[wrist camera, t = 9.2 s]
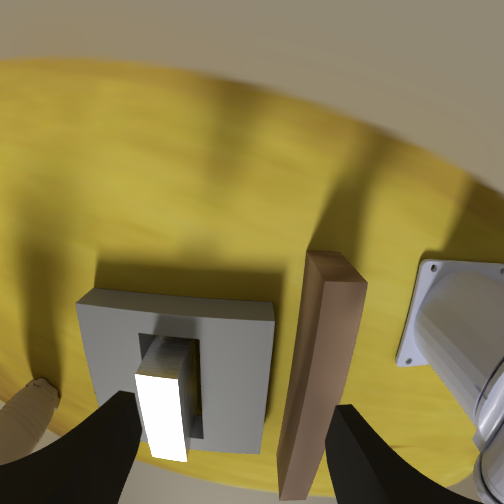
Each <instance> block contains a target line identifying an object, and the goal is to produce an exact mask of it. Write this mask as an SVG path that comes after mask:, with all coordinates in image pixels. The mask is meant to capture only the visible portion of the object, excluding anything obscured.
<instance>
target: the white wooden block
mask: <svg viewBox="0 0 504 504" xmlns="http://www.w3.org/2000/svg"><path fill="white" fill-rule="evenodd" d="M135 377H136V382H137V388H138V393H139V398H140V404H141V408H142V413H143V418H144V422H145V427H146V431H147V435H148V440H149V444H150V448H151V452H152V456H153V457H159V458H165V459H171V460H178V461H185V462H187V458H188V453H189V448H190V443H191V438H192V433H193V428H194V424H195V419H196V414H197V409H198V399H197V379H196V354H195V339H191V338H181V337H171V336H161V335H156V336H155V338H154V339H153V341H152V343H151V345H150V347H149V349H148V351H147V353H146V354H145V356H144V358H143V360H142V362H141V364H140V366H139V368H138V370H137V372H136V373H135Z"/></svg>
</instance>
